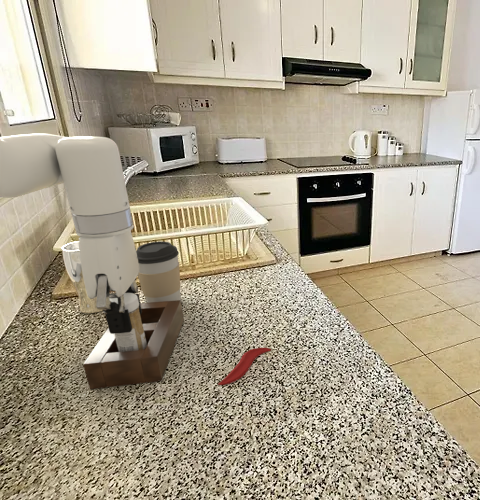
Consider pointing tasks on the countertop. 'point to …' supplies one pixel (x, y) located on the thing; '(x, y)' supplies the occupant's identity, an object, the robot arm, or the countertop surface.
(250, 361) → the cayenne pepper
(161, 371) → the holder
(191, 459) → the countertop surface
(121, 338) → the sprinkles bottle
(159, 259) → the coffee cup
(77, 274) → the beer glass
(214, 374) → the countertop surface
